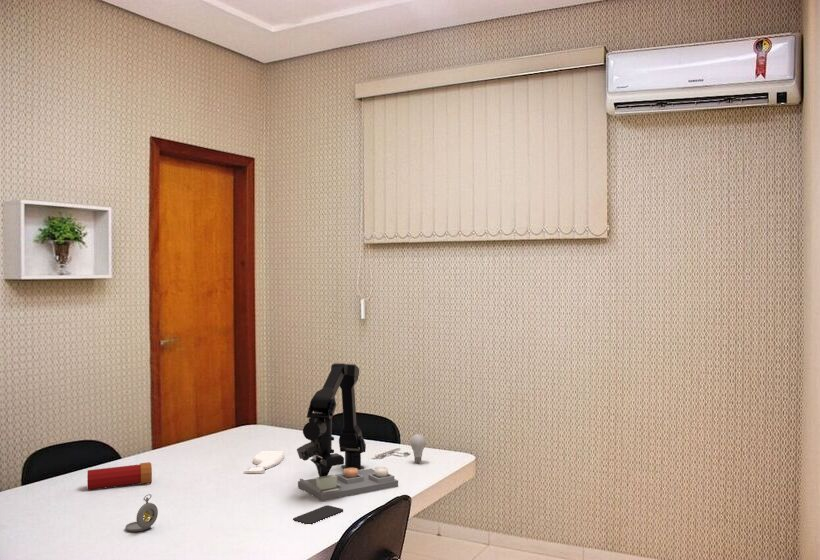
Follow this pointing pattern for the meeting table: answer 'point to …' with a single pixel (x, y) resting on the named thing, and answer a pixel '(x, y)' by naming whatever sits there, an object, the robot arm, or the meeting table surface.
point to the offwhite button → (381, 471)
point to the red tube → (119, 476)
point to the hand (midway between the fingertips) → (322, 481)
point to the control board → (349, 485)
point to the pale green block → (327, 482)
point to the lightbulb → (417, 446)
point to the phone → (318, 514)
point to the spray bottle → (266, 461)
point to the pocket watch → (148, 511)
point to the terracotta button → (350, 472)
